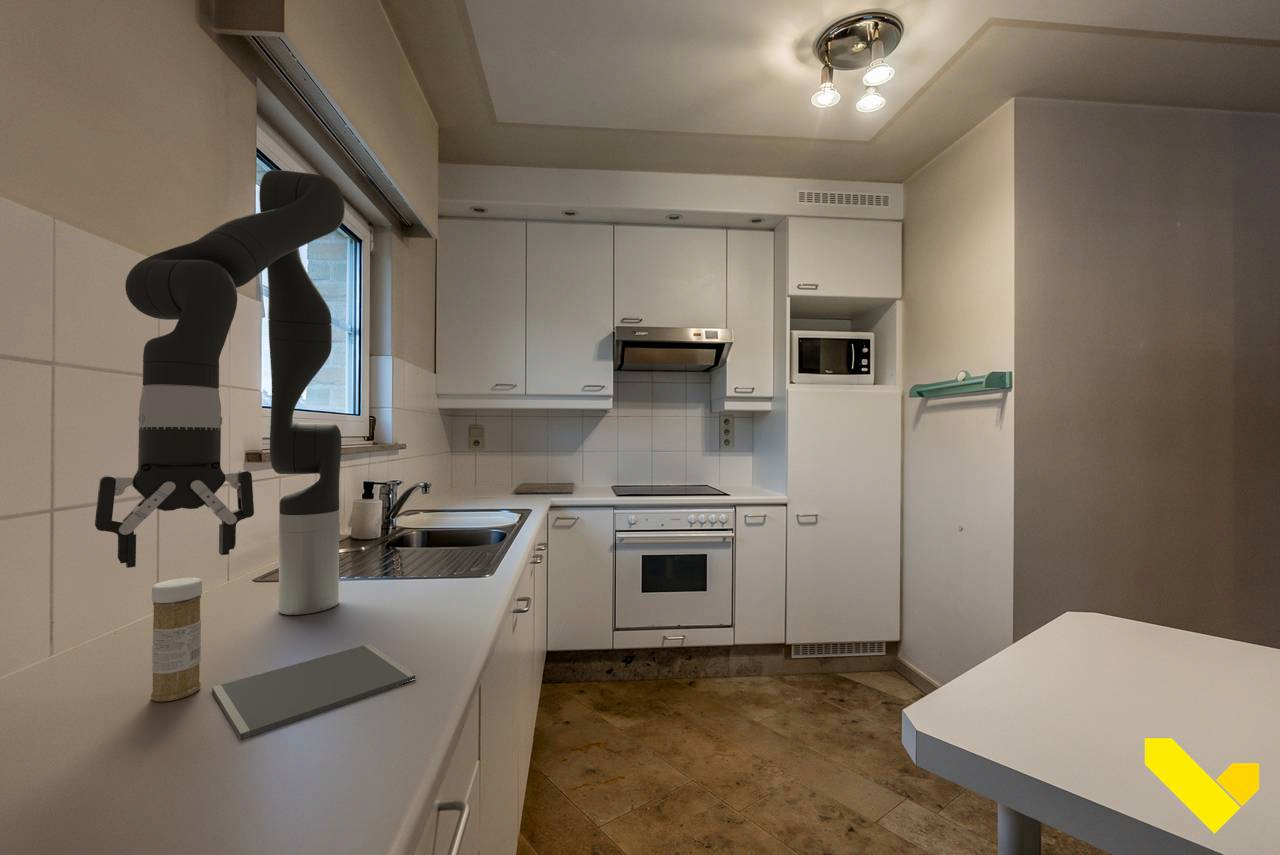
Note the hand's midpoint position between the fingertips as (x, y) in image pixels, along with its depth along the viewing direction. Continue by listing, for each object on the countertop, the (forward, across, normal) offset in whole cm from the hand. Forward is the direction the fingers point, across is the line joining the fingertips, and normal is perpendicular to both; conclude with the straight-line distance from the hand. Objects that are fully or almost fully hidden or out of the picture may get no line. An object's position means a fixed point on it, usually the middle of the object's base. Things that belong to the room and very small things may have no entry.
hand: (179, 560), depth 64 cm
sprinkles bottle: (+16, 0, 0) cm, 16 cm away
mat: (+16, -12, +10) cm, 22 cm away
